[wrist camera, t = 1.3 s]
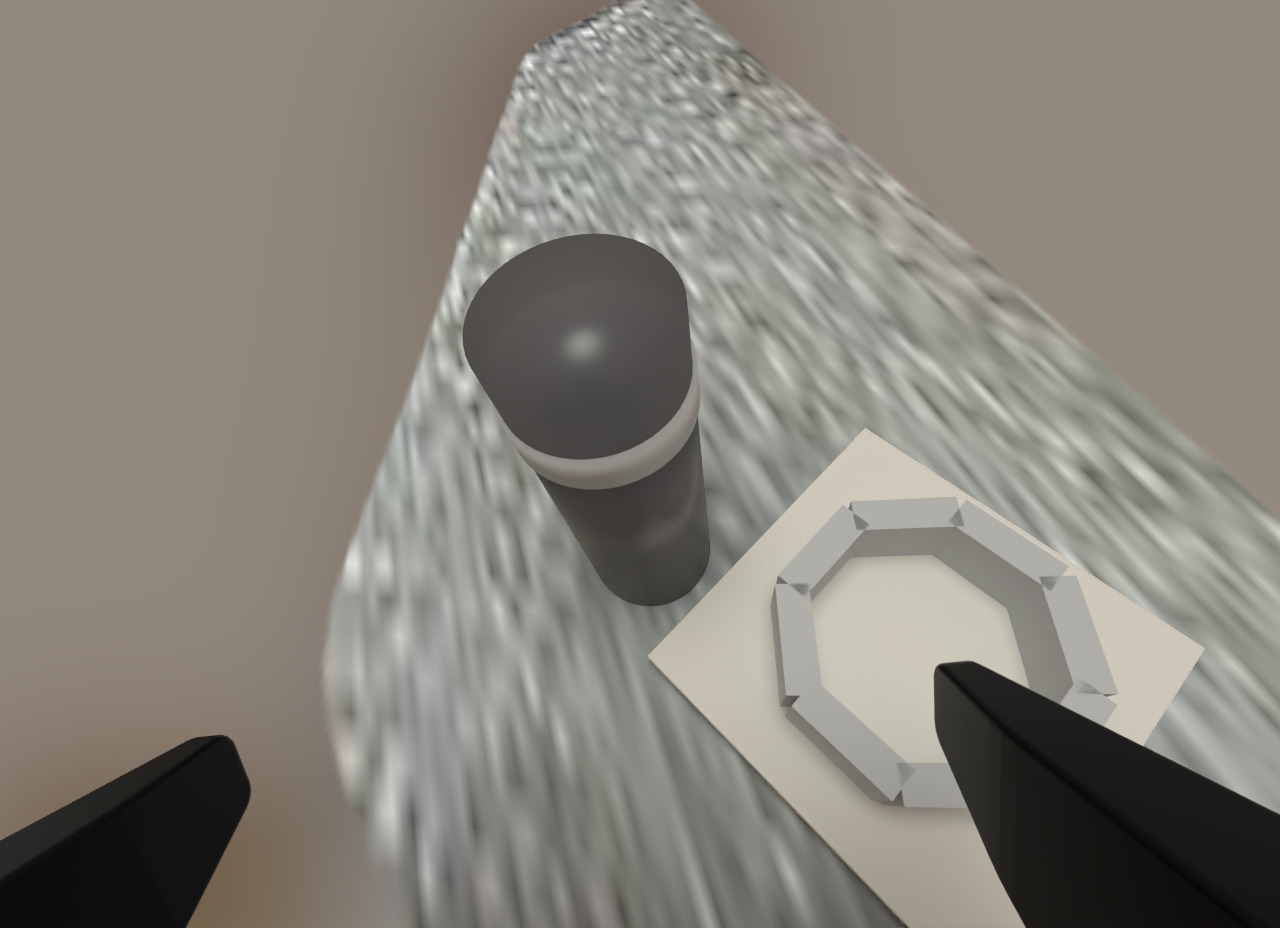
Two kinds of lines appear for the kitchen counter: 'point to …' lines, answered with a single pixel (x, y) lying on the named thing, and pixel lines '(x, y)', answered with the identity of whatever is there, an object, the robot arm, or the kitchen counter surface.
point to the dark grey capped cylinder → (602, 402)
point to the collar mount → (904, 667)
